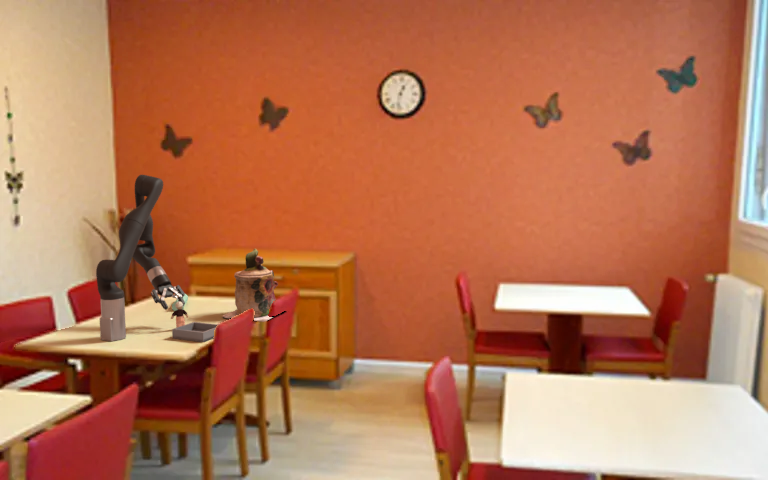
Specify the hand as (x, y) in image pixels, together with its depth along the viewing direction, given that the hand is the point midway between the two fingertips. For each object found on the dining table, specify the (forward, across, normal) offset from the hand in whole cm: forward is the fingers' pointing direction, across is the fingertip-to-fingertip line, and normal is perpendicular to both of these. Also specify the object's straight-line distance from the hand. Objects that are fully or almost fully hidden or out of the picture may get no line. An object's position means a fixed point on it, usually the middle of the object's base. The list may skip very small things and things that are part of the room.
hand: (175, 306), depth 298 cm
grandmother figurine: (+9, 0, +5) cm, 11 cm away
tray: (+20, -2, -6) cm, 22 cm away
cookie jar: (+12, +40, +2) cm, 42 cm away
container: (-20, +30, +35) cm, 51 cm away
